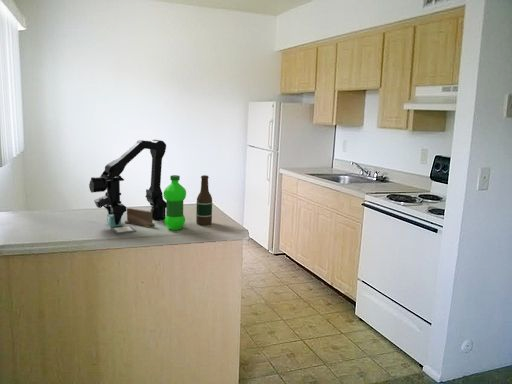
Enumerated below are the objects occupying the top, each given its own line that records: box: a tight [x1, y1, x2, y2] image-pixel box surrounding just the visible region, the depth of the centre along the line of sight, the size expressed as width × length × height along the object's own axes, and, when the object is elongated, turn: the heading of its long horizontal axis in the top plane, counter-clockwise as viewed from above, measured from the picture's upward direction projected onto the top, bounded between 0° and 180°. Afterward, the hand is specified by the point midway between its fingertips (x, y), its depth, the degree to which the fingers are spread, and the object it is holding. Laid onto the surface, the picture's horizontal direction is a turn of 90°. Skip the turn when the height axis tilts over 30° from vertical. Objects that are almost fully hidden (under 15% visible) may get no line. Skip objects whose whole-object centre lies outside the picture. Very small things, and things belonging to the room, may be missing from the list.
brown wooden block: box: [124, 207, 156, 229], centre depth 213 cm, size 5×14×7 cm, turn 64°
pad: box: [110, 225, 137, 235], centre depth 203 cm, size 9×9×1 cm
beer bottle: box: [195, 174, 213, 227], centre depth 217 cm, size 8×8×24 cm
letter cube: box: [106, 213, 122, 228], centre depth 210 cm, size 5×5×5 cm
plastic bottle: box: [163, 174, 187, 231], centre depth 207 cm, size 10×10×25 cm
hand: (114, 222), depth 211 cm, fingers open, 8 cm apart
